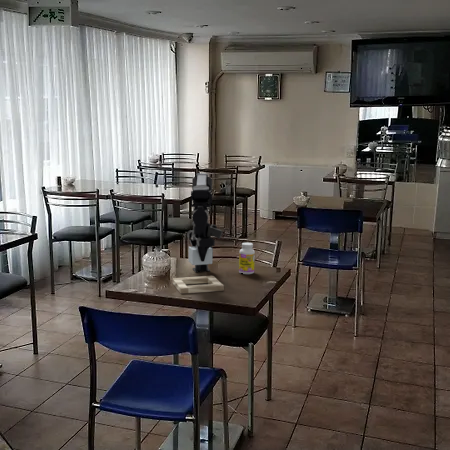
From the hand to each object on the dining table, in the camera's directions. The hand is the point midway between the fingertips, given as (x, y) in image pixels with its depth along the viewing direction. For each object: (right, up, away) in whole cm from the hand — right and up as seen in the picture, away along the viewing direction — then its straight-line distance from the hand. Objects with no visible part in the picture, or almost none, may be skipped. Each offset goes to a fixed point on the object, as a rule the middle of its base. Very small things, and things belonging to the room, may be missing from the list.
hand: (200, 259), depth 238 cm
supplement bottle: (+19, -7, +24) cm, 32 cm away
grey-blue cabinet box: (0, -1, 0) cm, 1 cm away
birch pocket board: (-1, -11, +2) cm, 11 cm away
